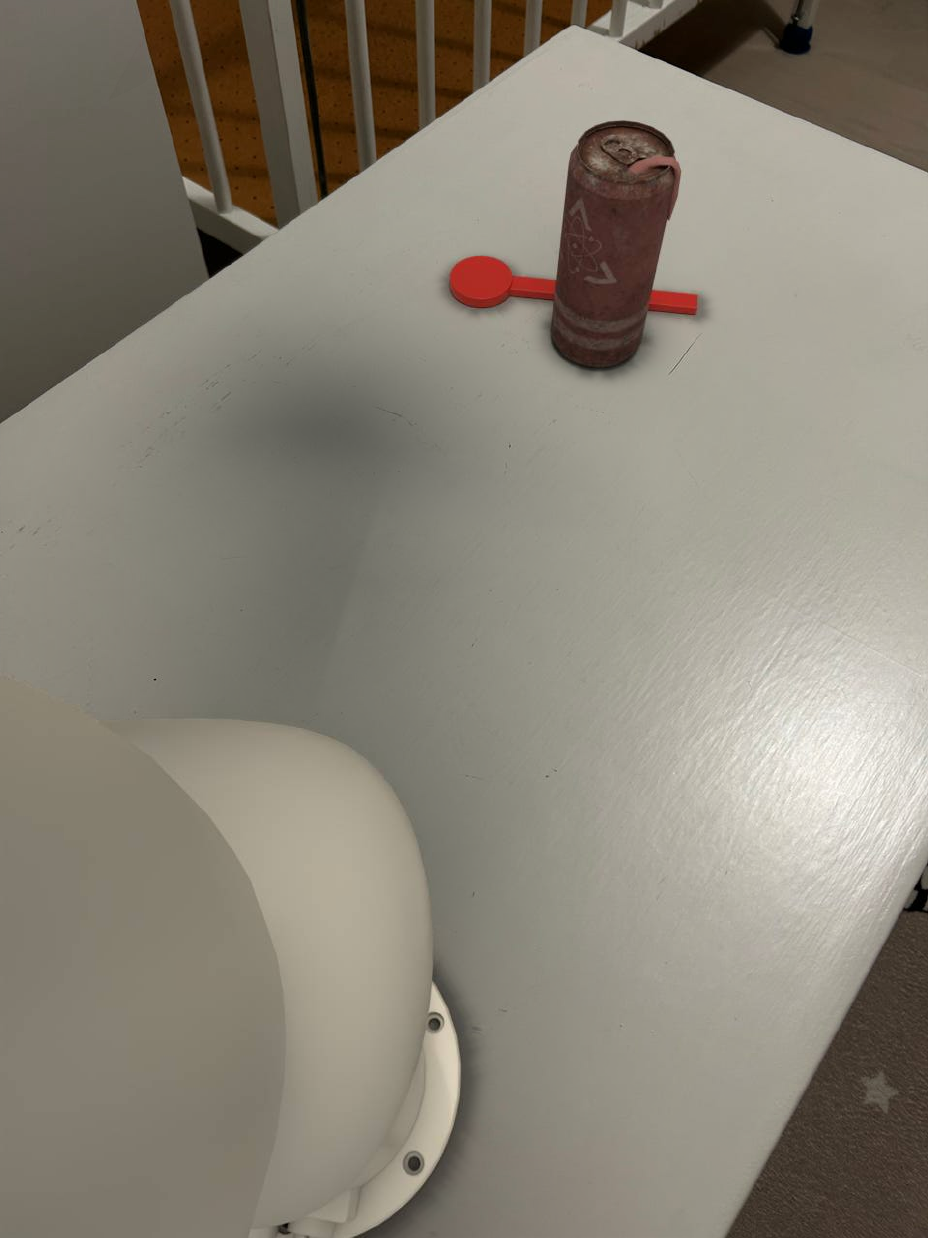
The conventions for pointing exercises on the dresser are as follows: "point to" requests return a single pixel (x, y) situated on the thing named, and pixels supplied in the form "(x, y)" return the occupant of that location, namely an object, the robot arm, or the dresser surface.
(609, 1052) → the dresser surface
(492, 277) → the spoon
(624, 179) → the can
